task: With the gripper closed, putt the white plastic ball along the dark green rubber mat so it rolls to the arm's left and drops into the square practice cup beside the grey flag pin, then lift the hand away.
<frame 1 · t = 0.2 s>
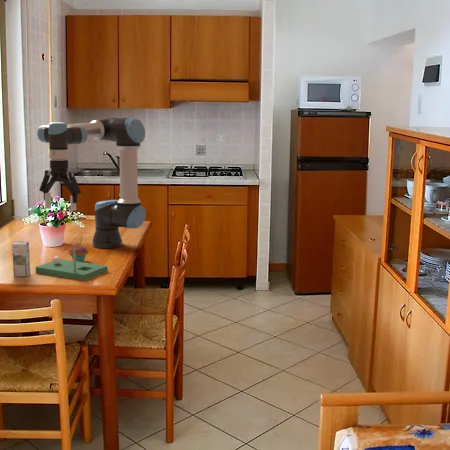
hand: (60, 209, 270), 27 cm above the table, fingers open, 13 cm apart
cupcake: (78, 261, 291), on the table
syrup box: (22, 275, 267), on the table
ball: (57, 260, 276), point 4 cm above the table, touching putting mat
putting mat: (71, 272, 273), on the table
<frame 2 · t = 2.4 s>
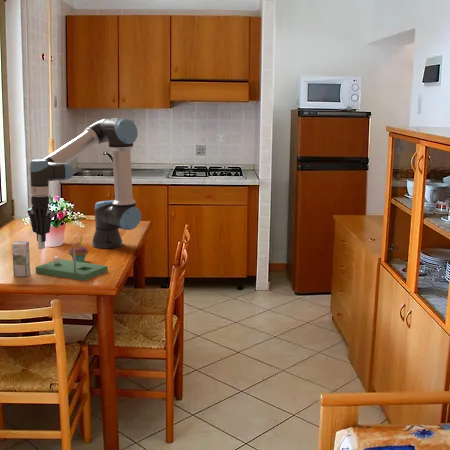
hand: (41, 248, 278), 9 cm above the table, fingers closed
nothing on the table moved.
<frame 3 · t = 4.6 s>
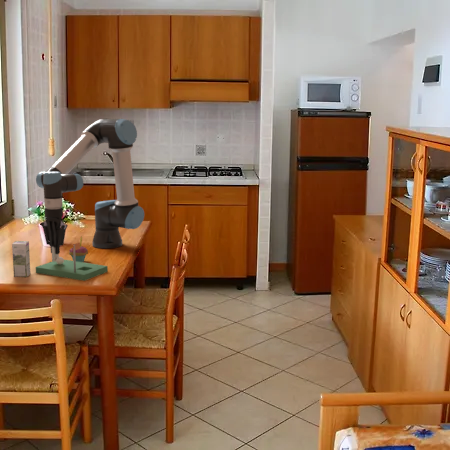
hand: (55, 260, 276), 4 cm above the table, fingers closed
ball: (60, 260, 275), point 4 cm above the table, tilted 55°, touching gripper, putting mat
everything else where it was.
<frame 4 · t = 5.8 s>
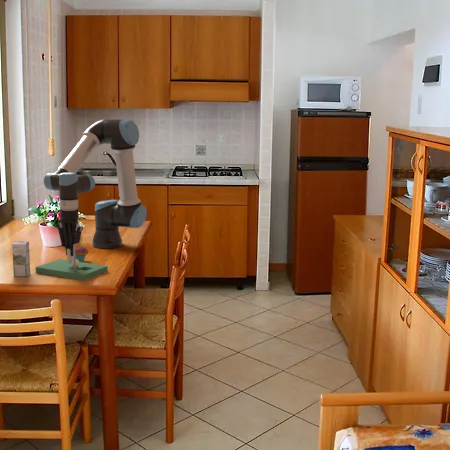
hand: (70, 263, 272), 4 cm above the table, fingers closed
ball: (75, 263, 271), point 4 cm above the table, tilted 64°, touching gripper, putting mat
everything else where it was.
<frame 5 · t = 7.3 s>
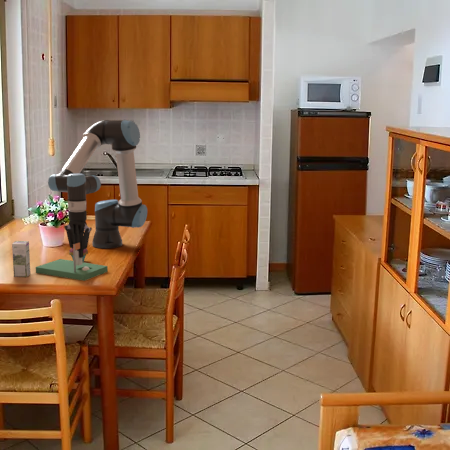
hand: (79, 264, 271), 4 cm above the table, fingers closed
ball: (85, 270, 270), point 2 cm above the table, tilted 135°
everything else where it was.
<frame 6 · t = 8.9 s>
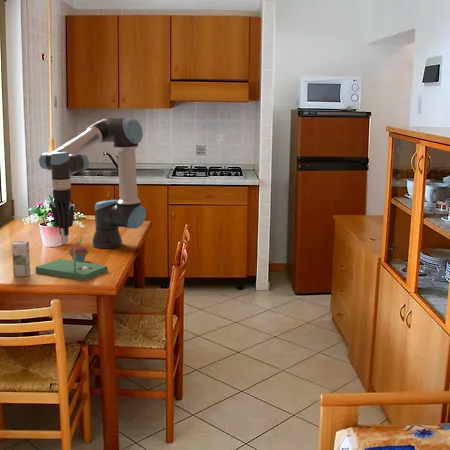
hand: (64, 242, 273), 13 cm above the table, fingers closed
ball: (85, 270, 270), point 2 cm above the table, tilted 128°
everything else where it was.
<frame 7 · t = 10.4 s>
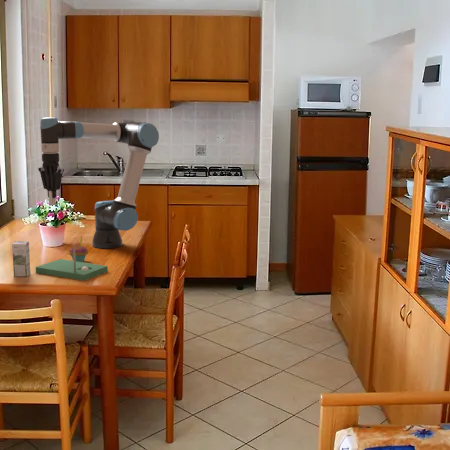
hand: (52, 204, 286), 26 cm above the table, fingers closed
ball: (84, 270, 270), point 2 cm above the table, tilted 120°
everything else where it was.
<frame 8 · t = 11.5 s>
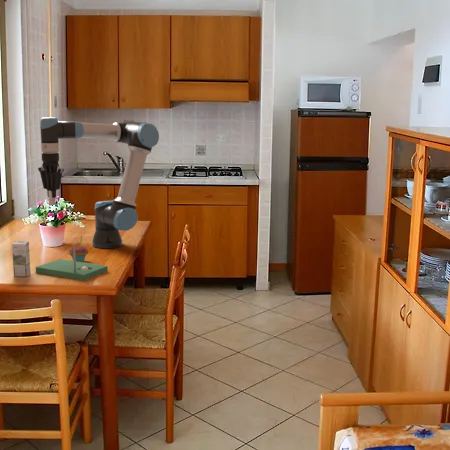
hand: (52, 204, 286), 26 cm above the table, fingers closed
ball: (84, 270, 270), point 2 cm above the table, tilted 115°
everything else where it was.
at the end: ball 0.2 cm from the target spot on the putting mat, point 1.7 cm above the putting mat's base; ball touching table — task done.
